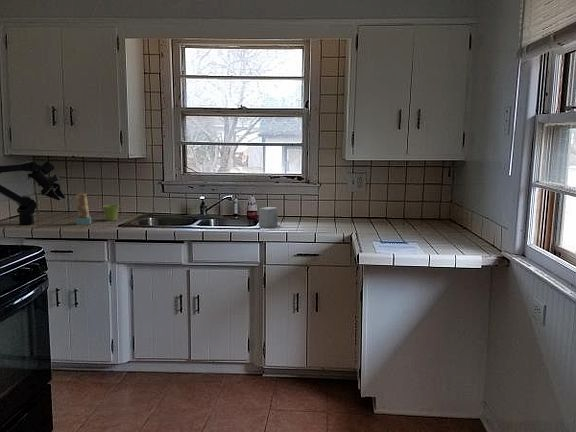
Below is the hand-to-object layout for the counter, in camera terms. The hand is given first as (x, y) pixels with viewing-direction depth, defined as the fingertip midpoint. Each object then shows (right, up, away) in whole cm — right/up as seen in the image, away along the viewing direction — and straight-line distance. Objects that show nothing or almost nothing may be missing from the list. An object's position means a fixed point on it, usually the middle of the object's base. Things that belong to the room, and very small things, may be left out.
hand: (62, 199), depth 305 cm
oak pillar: (+14, -10, -3) cm, 17 cm away
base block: (+13, -15, -2) cm, 20 cm away
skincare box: (+119, -16, -3) cm, 120 cm away
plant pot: (+25, -13, +12) cm, 30 cm away
